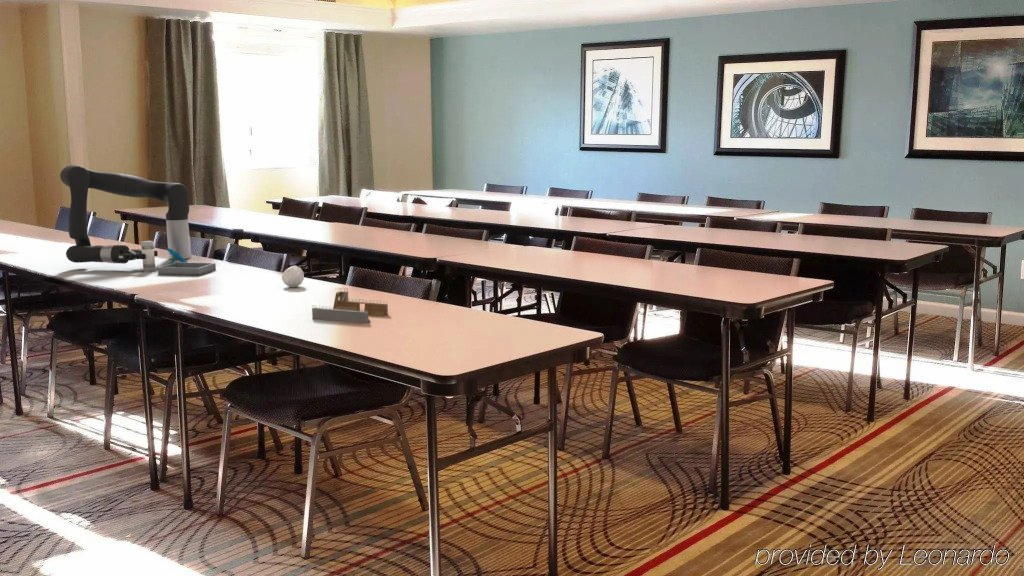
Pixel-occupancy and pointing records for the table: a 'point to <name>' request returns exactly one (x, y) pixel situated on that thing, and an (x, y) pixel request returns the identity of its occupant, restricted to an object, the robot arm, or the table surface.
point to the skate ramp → (349, 310)
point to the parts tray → (186, 269)
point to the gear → (175, 256)
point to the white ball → (293, 276)
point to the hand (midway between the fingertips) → (151, 255)
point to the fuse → (148, 256)
